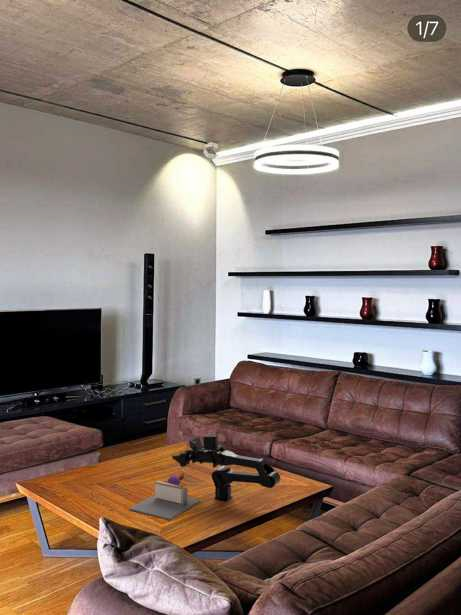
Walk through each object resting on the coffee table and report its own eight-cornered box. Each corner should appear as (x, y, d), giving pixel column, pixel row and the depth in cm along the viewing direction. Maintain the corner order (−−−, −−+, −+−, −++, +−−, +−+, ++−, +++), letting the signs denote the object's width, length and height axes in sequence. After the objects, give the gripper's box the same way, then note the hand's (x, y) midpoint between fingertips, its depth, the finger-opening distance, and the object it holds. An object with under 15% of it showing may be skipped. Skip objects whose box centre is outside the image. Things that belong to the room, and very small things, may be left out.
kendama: (188, 469, 304) (179, 479, 285) (185, 480, 304) (177, 491, 285) (176, 466, 305) (167, 476, 285) (174, 477, 305) (165, 488, 285)
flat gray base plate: (200, 501, 271) (200, 484, 270) (170, 520, 250) (170, 501, 249) (160, 492, 281) (161, 475, 281) (128, 509, 260) (128, 491, 260)
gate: (182, 502, 267) (182, 486, 266) (180, 503, 265) (180, 487, 265) (157, 496, 274) (157, 480, 273) (155, 497, 272) (155, 481, 272)
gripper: (214, 435, 287) (186, 434, 294) (194, 443, 271) (165, 442, 278) (215, 458, 287) (188, 456, 294) (195, 468, 270) (167, 465, 278)
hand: (177, 454), depth 286 cm, fingers open, 9 cm apart
